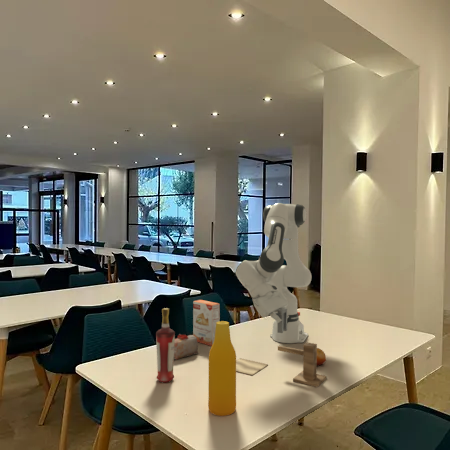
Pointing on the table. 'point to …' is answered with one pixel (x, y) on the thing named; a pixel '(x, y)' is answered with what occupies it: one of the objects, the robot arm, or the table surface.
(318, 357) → the fruit
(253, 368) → the mat
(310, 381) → the stand
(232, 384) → the beer bottle
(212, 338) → the cracker box
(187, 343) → the food item
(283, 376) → the table surface
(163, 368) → the liquor
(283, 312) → the arch
